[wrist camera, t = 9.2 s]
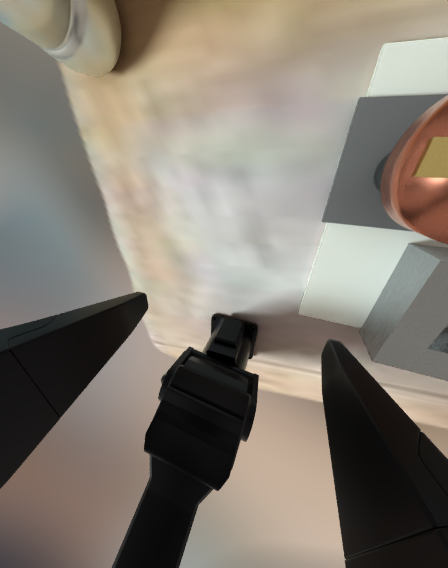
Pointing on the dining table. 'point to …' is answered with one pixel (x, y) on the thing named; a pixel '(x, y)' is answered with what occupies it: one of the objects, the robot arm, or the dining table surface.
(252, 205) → the dining table surface
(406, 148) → the copper disc with stripe
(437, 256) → the metal block
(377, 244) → the board
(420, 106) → the pad
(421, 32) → the dining table surface
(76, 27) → the plastic bottle
